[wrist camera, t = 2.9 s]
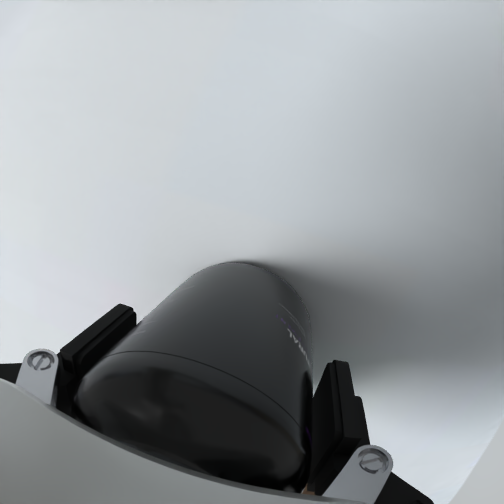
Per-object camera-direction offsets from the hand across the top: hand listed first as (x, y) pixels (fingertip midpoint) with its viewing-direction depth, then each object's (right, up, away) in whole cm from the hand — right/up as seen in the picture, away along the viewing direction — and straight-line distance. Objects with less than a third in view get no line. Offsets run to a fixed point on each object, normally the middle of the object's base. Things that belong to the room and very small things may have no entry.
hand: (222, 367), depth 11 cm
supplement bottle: (+1, +1, +3) cm, 4 cm away
